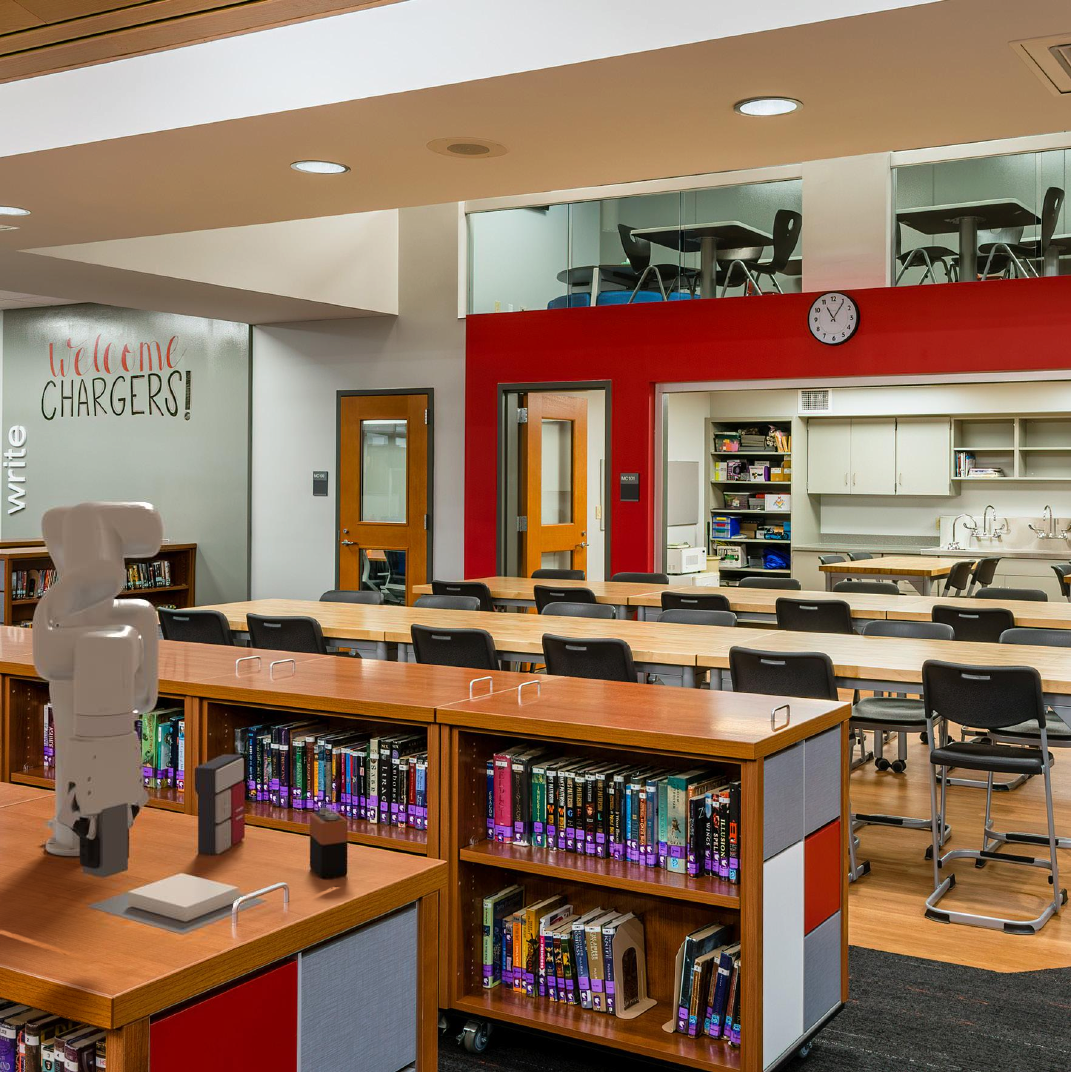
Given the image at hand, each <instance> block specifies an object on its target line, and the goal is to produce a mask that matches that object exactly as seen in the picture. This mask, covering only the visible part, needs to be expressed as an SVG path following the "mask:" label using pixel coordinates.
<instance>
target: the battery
mask: <svg viewBox="0 0 1071 1072" xmlns="http://www.w3.org/2000/svg"><path fill="white" fill-rule="evenodd" d="M348 822H349V821H348V820H346V818H344V817H343V816H342V815H340V814H339V812H336V810H331V808H328V807H323V808H322V807H321V808H320V811H319V812H312V813H310V814H309V868H310V869H311V870H312V871H313V873H315V874H316V875H318V877H319V878H321V880H330V879H329V878H331V879H335V878H334V877H338V878H342V877H343V876H344V877H347V875H348V834H349V833H348V828H349V827H348Z"/></svg>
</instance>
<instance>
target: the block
mask: <svg viewBox="0 0 1071 1072" xmlns="http://www.w3.org/2000/svg"><path fill="white" fill-rule="evenodd" d="M87 824H88V818H87V822H86V825H87ZM95 837H97V838H99V861H100V865H99V868H96V869H93V868H89V867H85V866H82V873H83V874H86V875H90V876H93V877H96V878H97V877H98V878H101V879H104V878H107V877H110V876H114V875H117V874H121V873H122V872H126V871H128V870H129V860H128V859H129V858H128V803H125V804H122V805H118V806H114V807H110V808H106V809H102V813H100V814H99V818H98V825H97V832H96V836H95Z"/></svg>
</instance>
